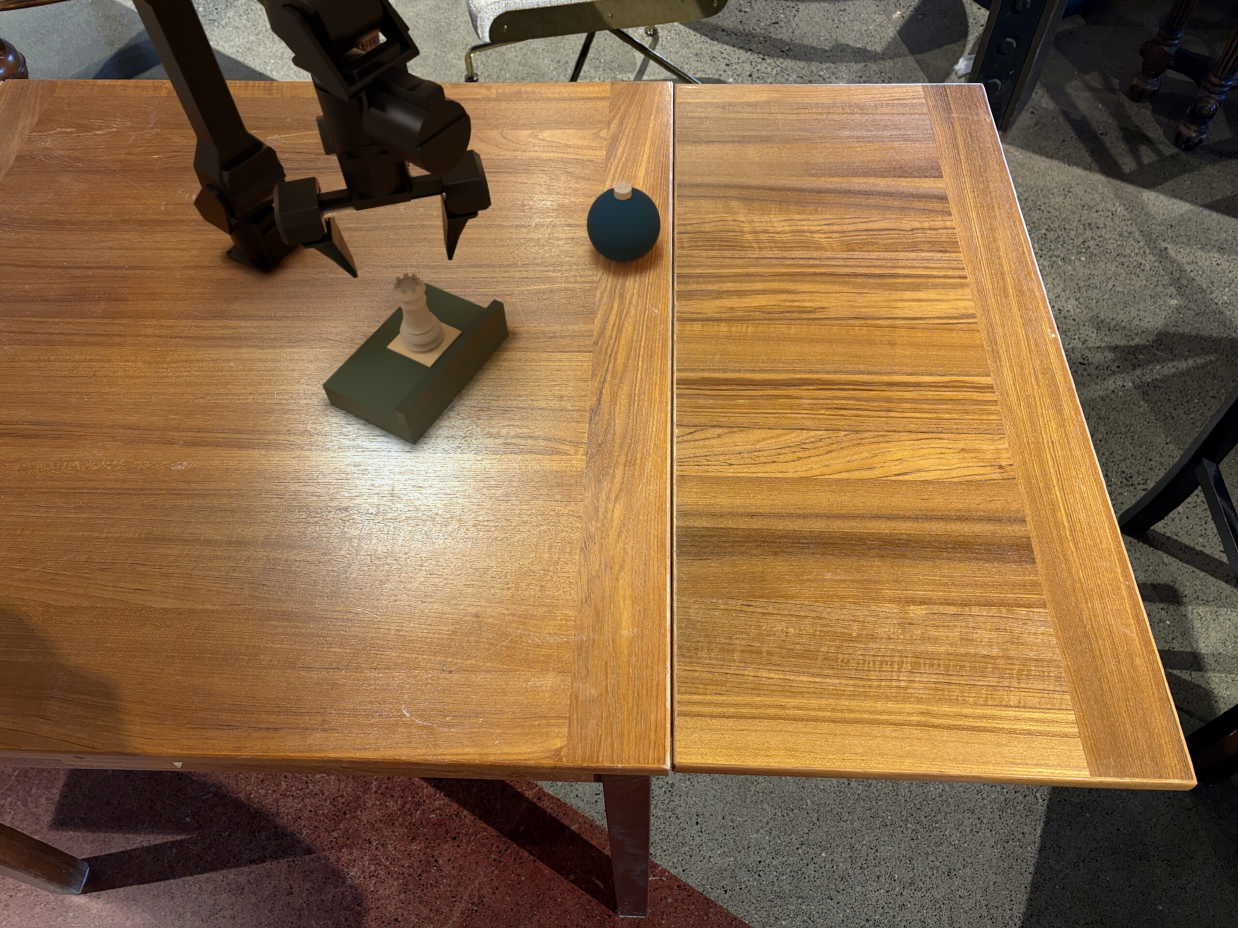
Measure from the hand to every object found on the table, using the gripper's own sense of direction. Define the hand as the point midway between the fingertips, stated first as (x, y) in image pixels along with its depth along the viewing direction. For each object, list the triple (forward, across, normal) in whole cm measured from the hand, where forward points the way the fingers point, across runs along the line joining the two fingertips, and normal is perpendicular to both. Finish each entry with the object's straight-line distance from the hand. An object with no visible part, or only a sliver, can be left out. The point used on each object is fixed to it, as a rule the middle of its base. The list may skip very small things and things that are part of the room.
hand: (403, 266), depth 88 cm
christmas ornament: (+12, -25, -8) cm, 29 cm away
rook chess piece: (+9, 0, +2) cm, 9 cm away
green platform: (+12, +1, +3) cm, 12 cm away
